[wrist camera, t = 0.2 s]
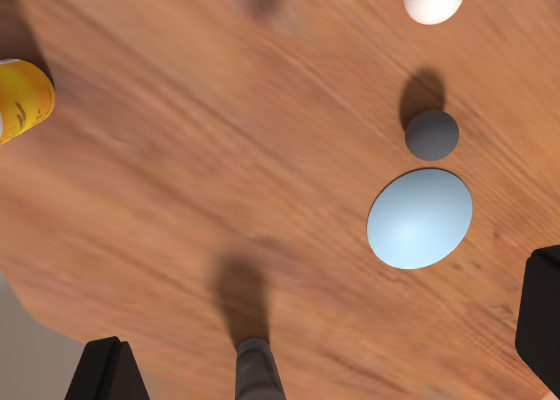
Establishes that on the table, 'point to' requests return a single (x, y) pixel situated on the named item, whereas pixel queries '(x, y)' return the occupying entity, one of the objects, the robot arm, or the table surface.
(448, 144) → the black ball
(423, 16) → the ivory ball
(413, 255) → the blue mark
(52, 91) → the beer can
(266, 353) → the beverage cup
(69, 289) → the table surface
